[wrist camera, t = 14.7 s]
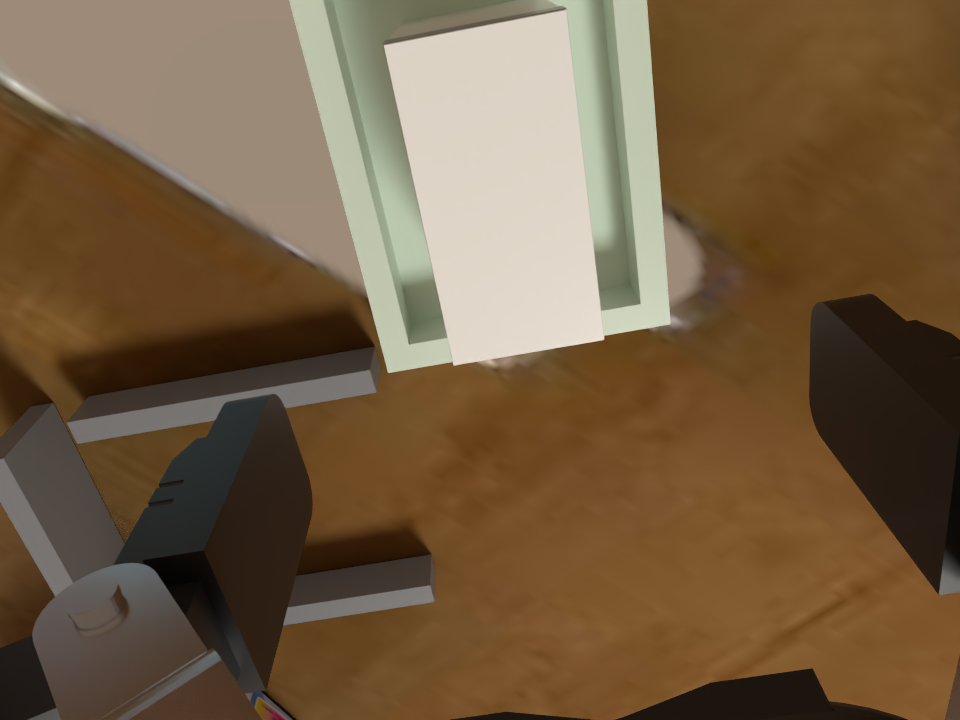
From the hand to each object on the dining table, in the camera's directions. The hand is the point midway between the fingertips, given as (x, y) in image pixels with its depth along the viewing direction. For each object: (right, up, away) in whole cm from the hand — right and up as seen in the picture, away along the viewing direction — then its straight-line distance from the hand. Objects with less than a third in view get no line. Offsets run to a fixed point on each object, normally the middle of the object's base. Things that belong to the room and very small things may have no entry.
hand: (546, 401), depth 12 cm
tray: (-1, +8, +16) cm, 18 cm away
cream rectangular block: (-1, +8, +15) cm, 17 cm away
